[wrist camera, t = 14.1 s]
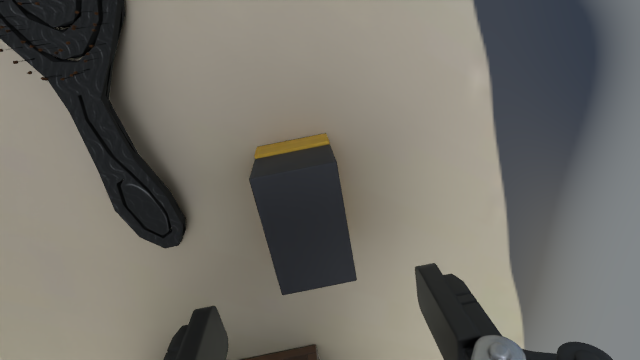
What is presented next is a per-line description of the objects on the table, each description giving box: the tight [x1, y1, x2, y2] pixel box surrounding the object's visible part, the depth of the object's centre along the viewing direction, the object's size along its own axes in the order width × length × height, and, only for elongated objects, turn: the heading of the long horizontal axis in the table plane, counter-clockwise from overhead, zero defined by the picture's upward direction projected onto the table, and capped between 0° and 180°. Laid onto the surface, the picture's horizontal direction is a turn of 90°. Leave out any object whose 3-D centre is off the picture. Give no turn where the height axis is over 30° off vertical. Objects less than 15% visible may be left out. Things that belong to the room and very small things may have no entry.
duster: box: [249, 133, 357, 295], centre depth 21 cm, size 8×4×5 cm, turn 10°
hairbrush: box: [0, 0, 186, 248], centre depth 17 cm, size 8×4×25 cm
